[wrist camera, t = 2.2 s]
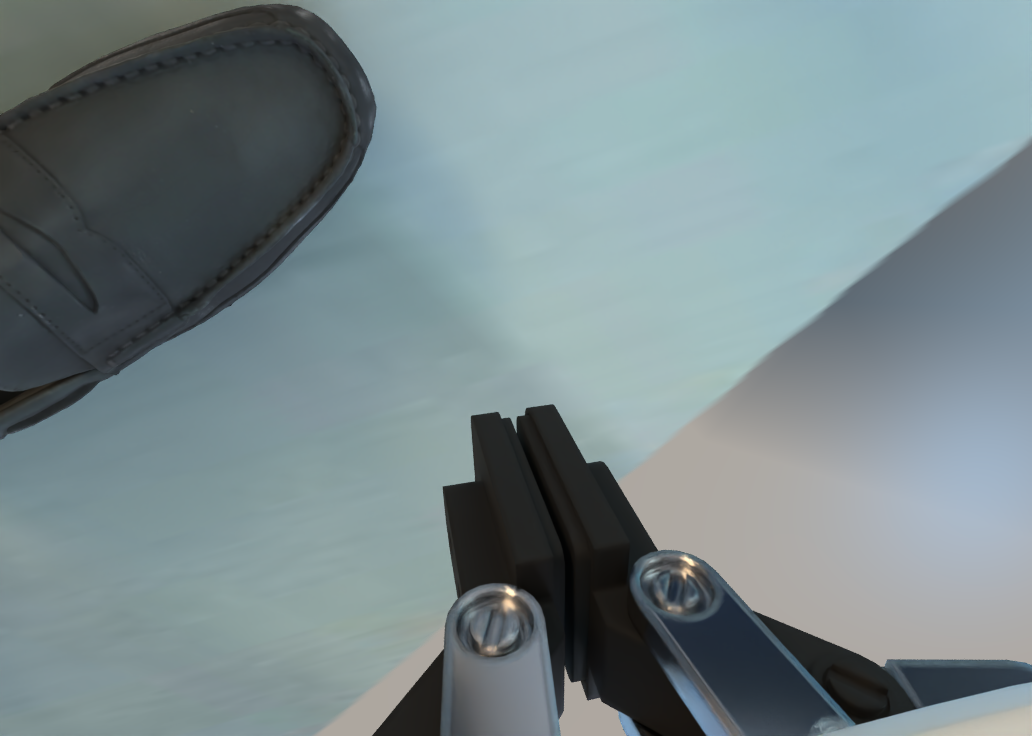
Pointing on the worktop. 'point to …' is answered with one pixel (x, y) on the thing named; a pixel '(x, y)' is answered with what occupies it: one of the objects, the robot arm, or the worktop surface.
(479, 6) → the worktop surface
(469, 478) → the worktop surface
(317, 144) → the loafer
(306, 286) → the worktop surface
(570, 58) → the worktop surface
